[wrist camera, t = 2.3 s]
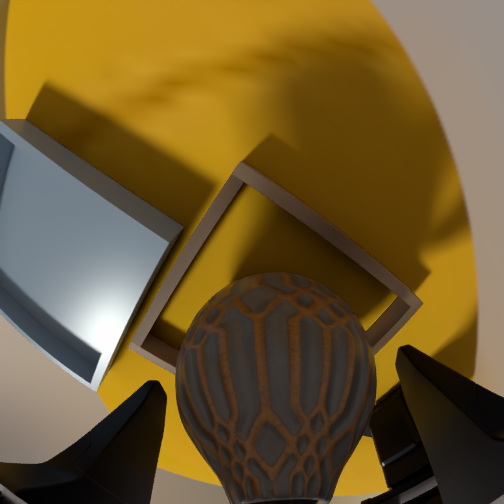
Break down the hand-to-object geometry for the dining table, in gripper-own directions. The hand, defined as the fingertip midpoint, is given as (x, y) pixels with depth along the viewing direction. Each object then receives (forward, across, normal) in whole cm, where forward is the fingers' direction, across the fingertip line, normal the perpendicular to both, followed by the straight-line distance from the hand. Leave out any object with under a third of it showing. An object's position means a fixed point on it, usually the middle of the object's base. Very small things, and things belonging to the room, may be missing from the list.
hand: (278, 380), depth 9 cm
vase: (+4, 0, 0) cm, 4 cm away
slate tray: (+4, +11, -5) cm, 12 cm away
